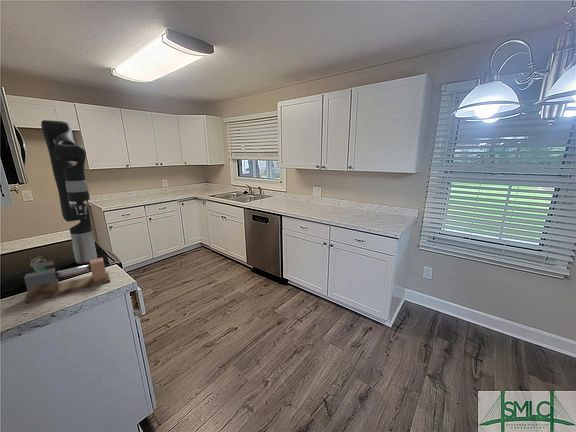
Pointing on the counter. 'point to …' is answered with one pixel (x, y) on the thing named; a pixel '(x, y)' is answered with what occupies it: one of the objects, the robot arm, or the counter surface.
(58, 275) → the tube
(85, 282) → the dock
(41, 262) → the food container
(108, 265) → the counter surface
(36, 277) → the sleeve
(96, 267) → the socket
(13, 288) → the counter surface
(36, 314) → the counter surface
